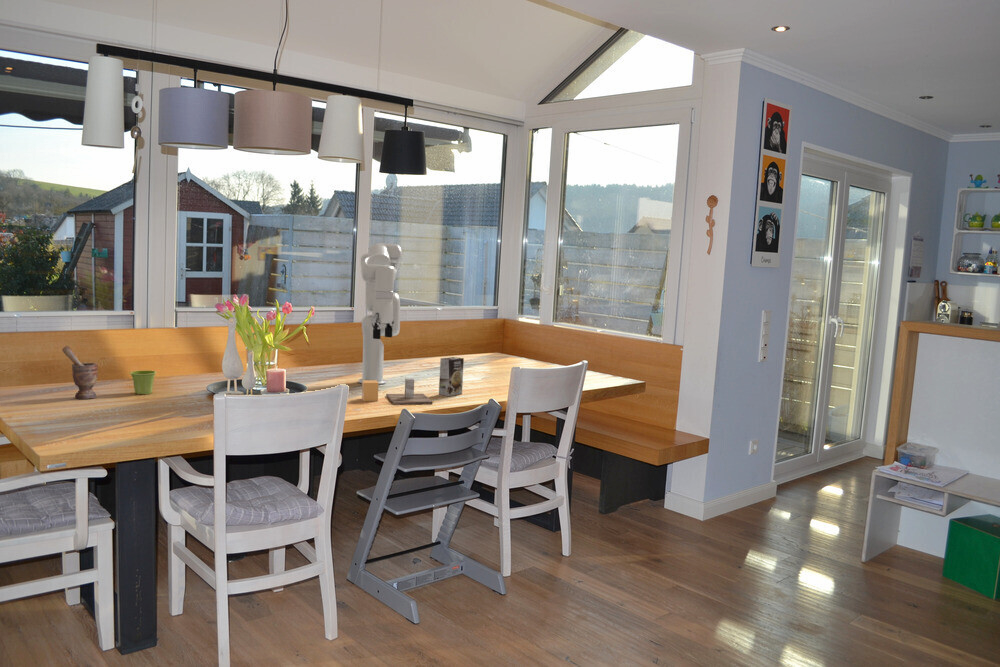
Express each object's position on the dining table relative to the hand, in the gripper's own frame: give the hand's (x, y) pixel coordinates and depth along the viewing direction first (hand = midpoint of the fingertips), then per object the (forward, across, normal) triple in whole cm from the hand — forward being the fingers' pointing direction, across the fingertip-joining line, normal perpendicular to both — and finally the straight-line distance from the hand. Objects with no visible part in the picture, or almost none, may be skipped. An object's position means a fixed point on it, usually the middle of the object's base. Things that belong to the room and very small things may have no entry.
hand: (382, 337), depth 313 cm
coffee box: (+26, -32, +17) cm, 44 cm away
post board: (+26, -9, +8) cm, 29 cm away
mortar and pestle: (+26, +58, -98) cm, 117 cm away
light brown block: (+26, -1, -6) cm, 27 cm away
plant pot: (+26, +39, -86) cm, 98 cm away
